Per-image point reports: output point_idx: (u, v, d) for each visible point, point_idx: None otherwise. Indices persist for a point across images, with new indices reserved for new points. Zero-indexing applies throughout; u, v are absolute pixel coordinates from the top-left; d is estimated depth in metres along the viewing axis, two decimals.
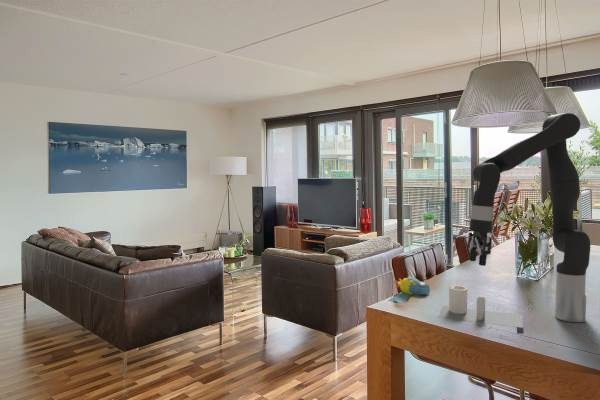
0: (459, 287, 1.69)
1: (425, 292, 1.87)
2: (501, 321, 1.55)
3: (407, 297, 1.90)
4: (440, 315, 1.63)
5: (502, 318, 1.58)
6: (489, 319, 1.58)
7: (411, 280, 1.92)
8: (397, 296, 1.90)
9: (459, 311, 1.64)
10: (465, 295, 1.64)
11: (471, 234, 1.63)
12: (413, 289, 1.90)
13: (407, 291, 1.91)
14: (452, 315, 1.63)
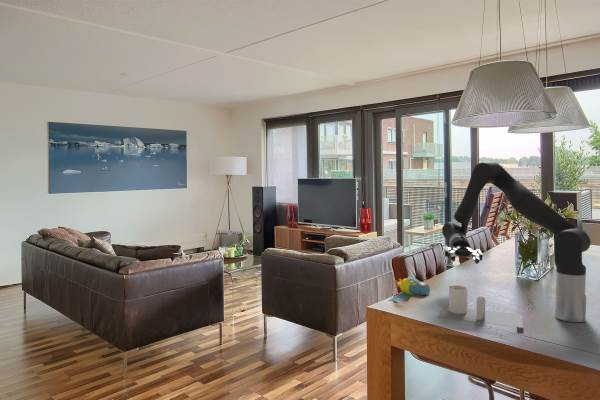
0: (459, 287, 1.69)
1: (425, 292, 1.87)
2: (501, 321, 1.55)
3: (407, 297, 1.90)
4: (440, 315, 1.63)
5: (502, 318, 1.58)
6: (489, 319, 1.58)
7: (411, 280, 1.92)
8: (397, 296, 1.90)
9: (459, 311, 1.64)
10: (465, 295, 1.64)
11: None
12: (413, 289, 1.90)
13: (407, 291, 1.91)
14: (452, 315, 1.63)
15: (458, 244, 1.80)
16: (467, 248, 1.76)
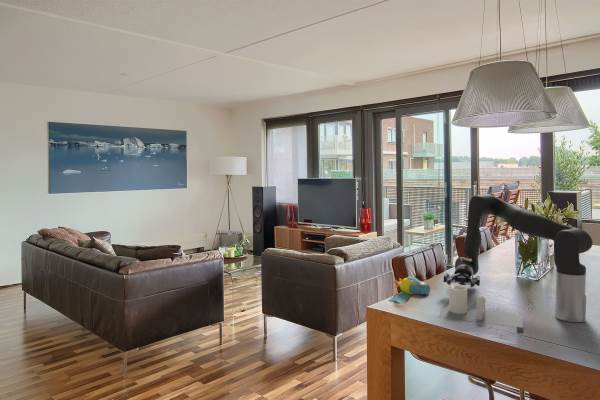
0: (459, 287, 1.69)
1: (425, 292, 1.87)
2: (501, 321, 1.55)
3: (407, 297, 1.90)
4: (440, 315, 1.63)
5: (502, 318, 1.58)
6: (489, 319, 1.58)
7: (411, 280, 1.91)
8: (397, 296, 1.90)
9: (459, 311, 1.64)
10: (465, 295, 1.64)
11: None
12: (413, 289, 1.90)
13: (407, 291, 1.91)
14: (452, 315, 1.63)
15: (459, 272, 1.88)
16: (466, 275, 1.84)
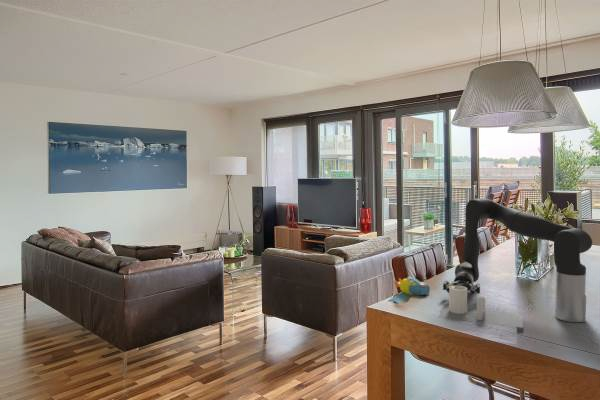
0: (459, 287, 1.69)
1: (425, 292, 1.87)
2: (501, 321, 1.55)
3: (407, 297, 1.89)
4: (440, 315, 1.63)
5: (502, 318, 1.58)
6: (489, 319, 1.58)
7: (411, 280, 1.91)
8: (397, 296, 1.90)
9: (459, 311, 1.64)
10: (465, 295, 1.64)
11: None
12: (413, 289, 1.89)
13: (407, 291, 1.91)
14: (452, 315, 1.63)
15: (459, 279, 1.85)
16: (466, 282, 1.80)
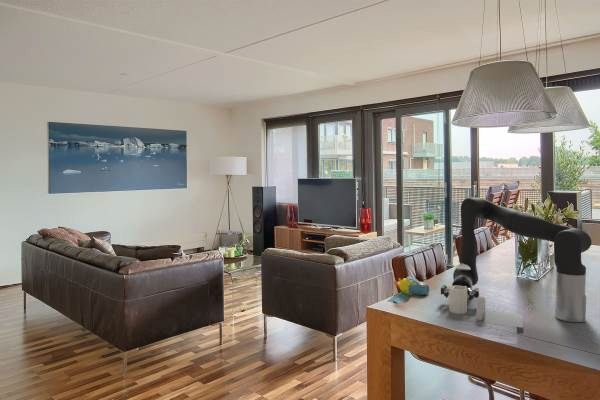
0: (459, 287, 1.69)
1: (425, 292, 1.87)
2: (501, 321, 1.55)
3: (407, 297, 1.89)
4: (440, 315, 1.63)
5: (502, 318, 1.58)
6: (489, 319, 1.58)
7: (410, 280, 1.91)
8: (396, 296, 1.90)
9: (459, 311, 1.64)
10: (465, 295, 1.64)
11: None
12: (413, 289, 1.89)
13: (406, 291, 1.91)
14: (452, 315, 1.63)
15: (457, 283, 1.78)
16: (464, 286, 1.74)
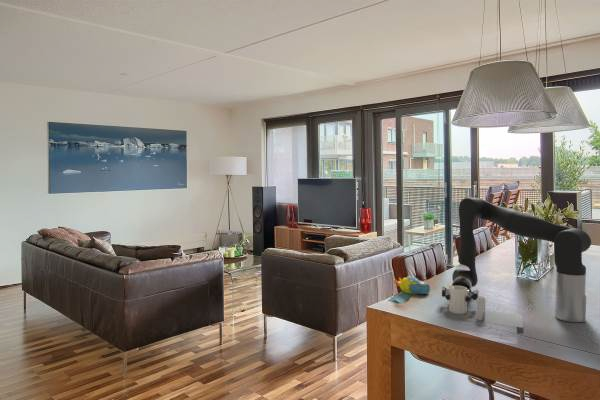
0: (459, 287, 1.69)
1: (425, 291, 1.87)
2: (501, 321, 1.55)
3: (407, 296, 1.90)
4: (440, 315, 1.63)
5: (502, 318, 1.58)
6: (489, 319, 1.58)
7: (411, 279, 1.92)
8: (397, 295, 1.90)
9: (459, 311, 1.64)
10: (465, 295, 1.64)
11: None
12: (413, 288, 1.90)
13: (407, 290, 1.91)
14: (452, 315, 1.63)
15: (457, 285, 1.76)
16: None
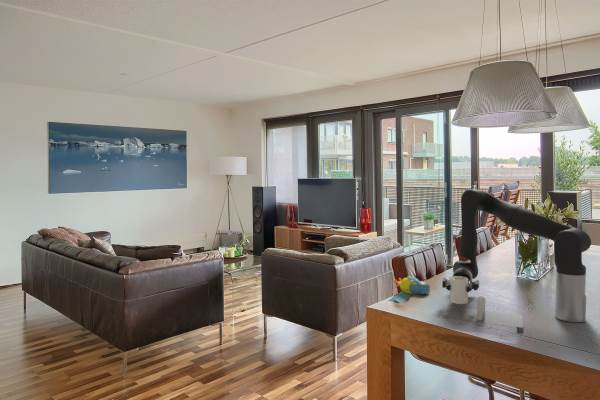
0: (460, 278, 1.69)
1: (425, 291, 1.88)
2: (501, 321, 1.55)
3: (407, 297, 1.90)
4: (440, 315, 1.63)
5: (502, 318, 1.58)
6: (489, 319, 1.58)
7: (411, 280, 1.92)
8: (397, 296, 1.91)
9: (460, 301, 1.64)
10: (466, 285, 1.64)
11: None
12: (413, 288, 1.90)
13: (407, 291, 1.92)
14: (452, 315, 1.63)
15: None
16: None
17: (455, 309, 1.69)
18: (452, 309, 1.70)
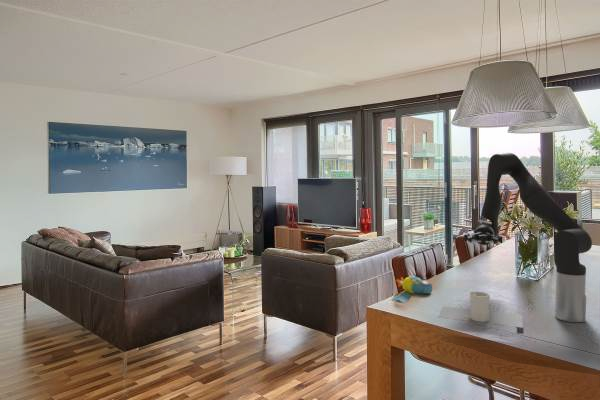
0: (480, 293, 1.60)
1: (428, 291, 1.89)
2: (501, 321, 1.55)
3: (410, 296, 1.91)
4: (440, 315, 1.63)
5: (502, 318, 1.58)
6: (489, 319, 1.58)
7: (414, 279, 1.93)
8: (400, 295, 1.91)
9: (481, 319, 1.56)
10: (487, 302, 1.56)
11: None
12: (416, 288, 1.91)
13: (410, 290, 1.92)
14: (452, 315, 1.63)
15: (480, 231, 1.79)
16: (487, 233, 1.75)
17: (455, 309, 1.69)
18: (452, 309, 1.70)
